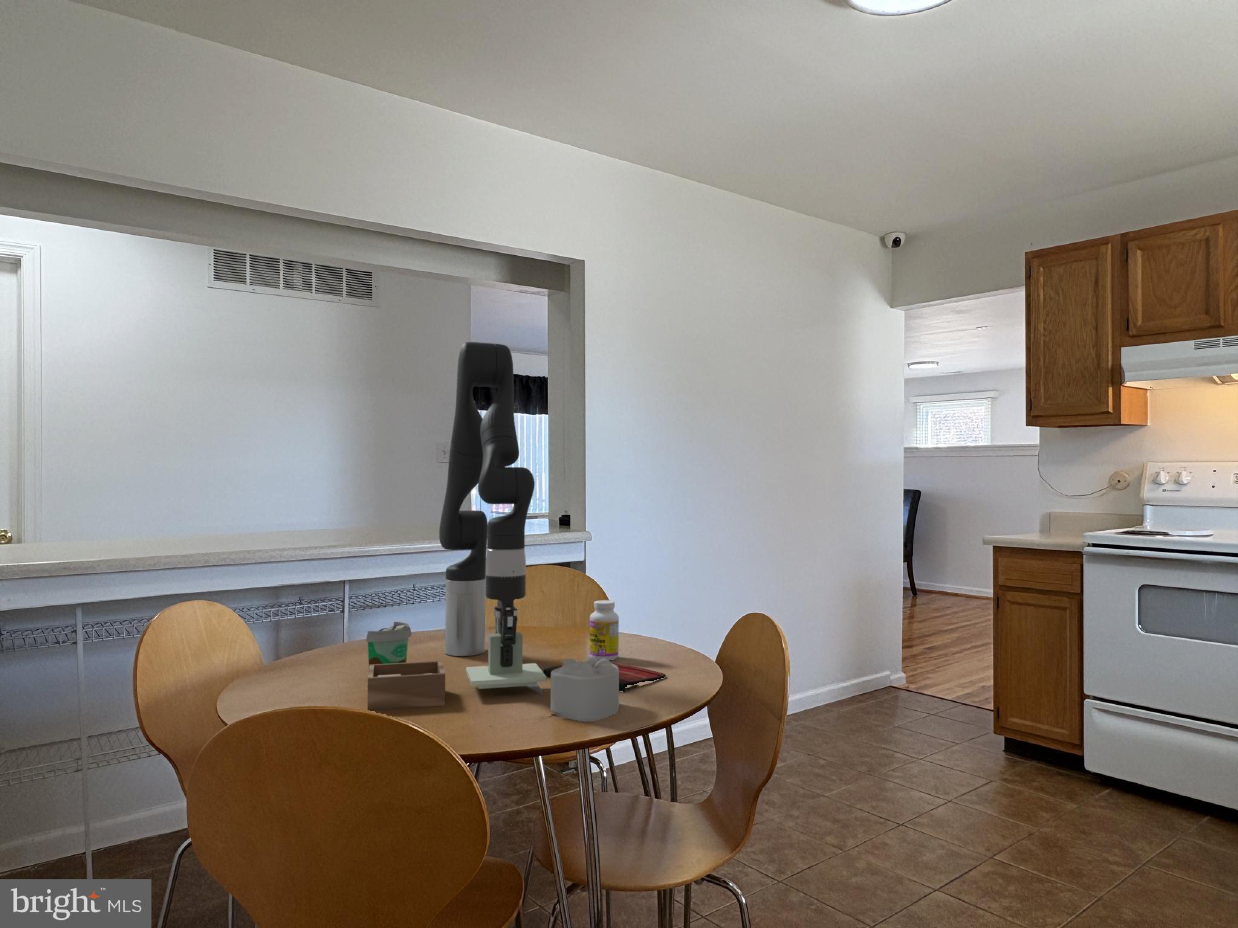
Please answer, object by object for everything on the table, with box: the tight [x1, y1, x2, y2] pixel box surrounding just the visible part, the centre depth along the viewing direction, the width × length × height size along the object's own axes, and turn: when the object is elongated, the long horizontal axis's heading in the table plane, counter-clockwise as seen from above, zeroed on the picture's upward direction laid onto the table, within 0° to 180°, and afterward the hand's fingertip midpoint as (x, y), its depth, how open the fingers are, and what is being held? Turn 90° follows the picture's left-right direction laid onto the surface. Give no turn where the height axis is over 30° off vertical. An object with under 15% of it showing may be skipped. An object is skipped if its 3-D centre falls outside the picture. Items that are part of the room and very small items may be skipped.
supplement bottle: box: [588, 599, 620, 660], centre depth 185 cm, size 7×7×13 cm
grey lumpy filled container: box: [550, 656, 620, 723], centre depth 143 cm, size 10×13×9 cm
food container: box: [365, 621, 412, 667], centre depth 168 cm, size 12×6×10 cm, turn 168°
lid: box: [465, 631, 547, 690], centre depth 153 cm, size 12×14×9 cm
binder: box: [542, 662, 667, 693], centre depth 167 cm, size 16×2×21 cm
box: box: [367, 660, 446, 711], centre depth 146 cm, size 11×13×6 cm
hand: (505, 663), depth 153 cm, fingers closed on lid, 3 cm apart
